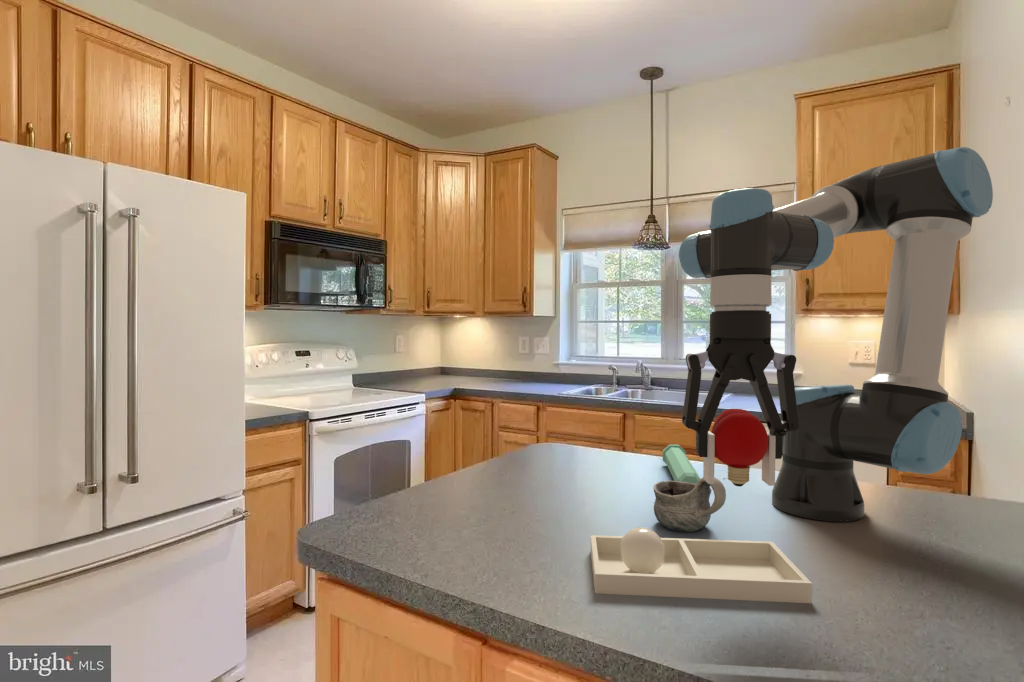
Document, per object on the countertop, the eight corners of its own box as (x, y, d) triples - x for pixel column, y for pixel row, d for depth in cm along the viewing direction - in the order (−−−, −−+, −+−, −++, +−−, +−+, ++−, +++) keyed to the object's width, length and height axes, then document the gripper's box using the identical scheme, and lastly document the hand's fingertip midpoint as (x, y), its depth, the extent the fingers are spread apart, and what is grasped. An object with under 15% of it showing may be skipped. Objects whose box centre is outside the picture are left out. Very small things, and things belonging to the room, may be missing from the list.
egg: (660, 563, 78) (661, 521, 78) (668, 583, 72) (668, 537, 72) (617, 562, 78) (617, 520, 78) (622, 581, 72) (622, 536, 72)
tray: (772, 562, 80) (772, 541, 79) (811, 607, 67) (812, 583, 67) (590, 555, 82) (590, 535, 82) (594, 597, 69) (594, 574, 69)
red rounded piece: (776, 498, 68) (776, 417, 68) (716, 494, 70) (717, 415, 69) (758, 478, 77) (758, 407, 77) (705, 475, 79) (706, 405, 78)
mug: (671, 515, 100) (671, 460, 100) (740, 533, 91) (740, 473, 91) (642, 529, 93) (642, 470, 93) (713, 550, 84) (713, 485, 84)
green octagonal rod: (699, 467, 110) (680, 440, 135) (670, 477, 111) (658, 448, 136) (710, 495, 110) (690, 462, 135) (682, 504, 111) (667, 470, 136)
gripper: (806, 310, 76) (804, 476, 76) (658, 310, 78) (657, 472, 78) (832, 308, 68) (830, 492, 69) (668, 308, 70) (667, 487, 71)
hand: (738, 481), depth 73 cm, fingers closed on red rounded piece, 7 cm apart
